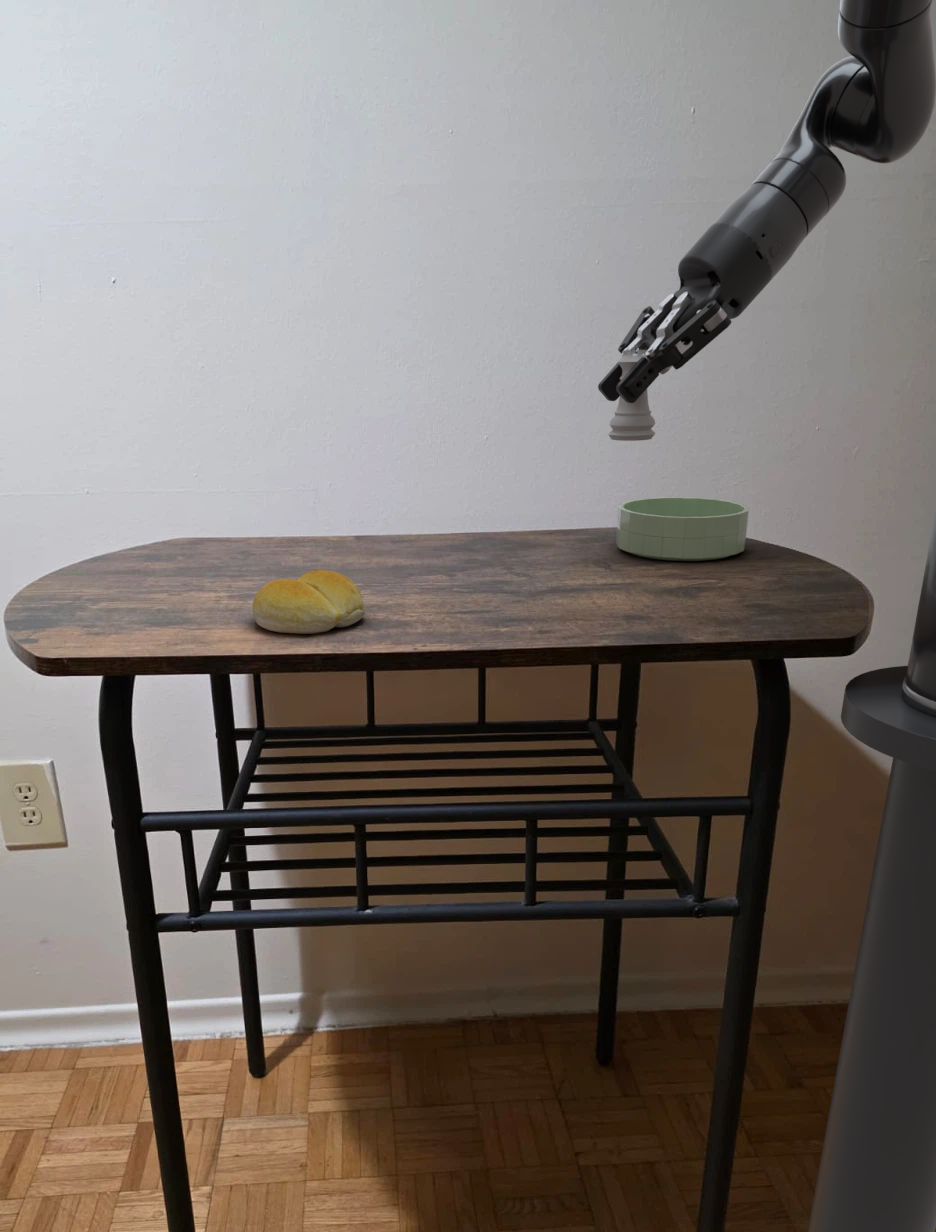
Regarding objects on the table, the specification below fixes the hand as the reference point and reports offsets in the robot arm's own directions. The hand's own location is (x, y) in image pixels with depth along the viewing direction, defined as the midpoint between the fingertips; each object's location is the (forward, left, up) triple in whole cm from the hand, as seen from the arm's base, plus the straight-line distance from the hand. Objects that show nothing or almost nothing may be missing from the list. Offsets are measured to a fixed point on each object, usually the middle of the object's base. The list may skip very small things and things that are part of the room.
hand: (614, 395), depth 92 cm
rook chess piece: (0, -2, -4) cm, 5 cm away
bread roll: (-12, +32, -16) cm, 38 cm away
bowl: (+3, -10, -16) cm, 19 cm away
